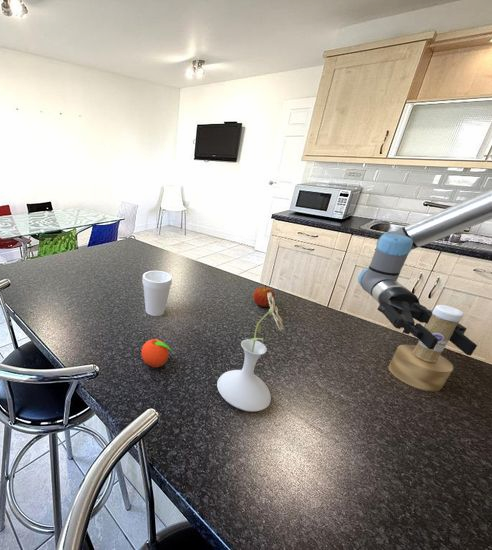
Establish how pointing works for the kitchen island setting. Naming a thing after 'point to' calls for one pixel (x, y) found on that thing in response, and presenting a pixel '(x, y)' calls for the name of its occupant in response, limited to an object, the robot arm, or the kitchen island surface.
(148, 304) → the foam cup
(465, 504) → the kitchen island surface
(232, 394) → the flower in vase
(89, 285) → the kitchen island surface
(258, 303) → the fruit
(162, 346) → the clementine
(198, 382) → the kitchen island surface
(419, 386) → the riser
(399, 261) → the robot arm
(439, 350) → the sprinkles bottle
